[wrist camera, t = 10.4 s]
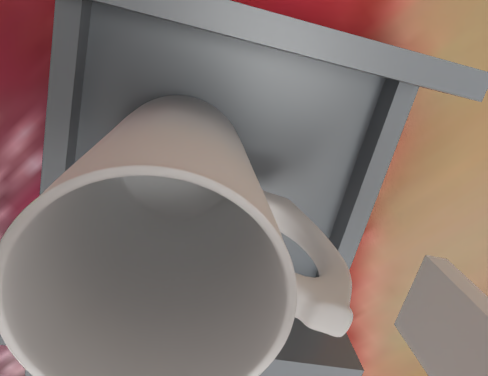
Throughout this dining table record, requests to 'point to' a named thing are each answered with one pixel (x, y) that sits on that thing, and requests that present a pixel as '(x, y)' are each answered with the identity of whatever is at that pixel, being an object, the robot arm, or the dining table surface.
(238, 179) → the mug
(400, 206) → the dining table surface
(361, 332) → the dining table surface
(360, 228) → the rack
